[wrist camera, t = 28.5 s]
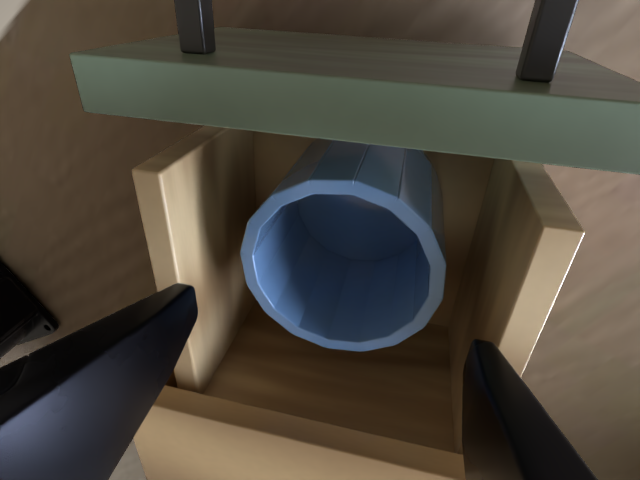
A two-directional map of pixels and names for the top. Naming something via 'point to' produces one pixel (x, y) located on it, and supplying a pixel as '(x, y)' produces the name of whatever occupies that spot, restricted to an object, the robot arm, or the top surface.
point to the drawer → (378, 129)
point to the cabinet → (272, 445)
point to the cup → (350, 246)
